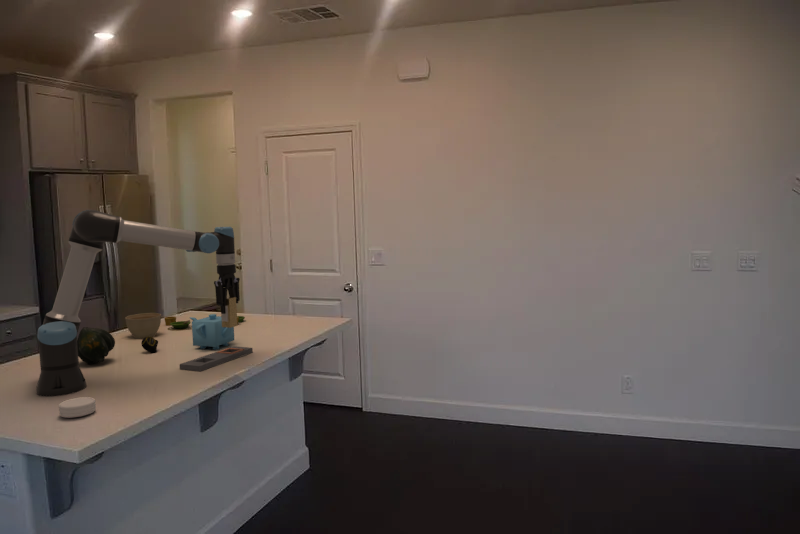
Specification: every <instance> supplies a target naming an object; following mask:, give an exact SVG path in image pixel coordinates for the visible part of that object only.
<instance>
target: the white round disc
mask: <svg viewBox="0 0 800 534" xmlns="http://www.w3.org/2000/svg"><path fill="white" fill-rule="evenodd" d="M96 409H97V407H96V399H95V398H93V397H89V396H81V397H74V398H70V399H66V400H64V401H61V402H60V403H59V404H58V411H59V412H58V413H59V416H60V417H62V418H66V419H67V418H68V419H69V418H70V419H73V418H80V417H85V416H87V415H90V414H92V413H94V412H95V411H96Z"/></svg>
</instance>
